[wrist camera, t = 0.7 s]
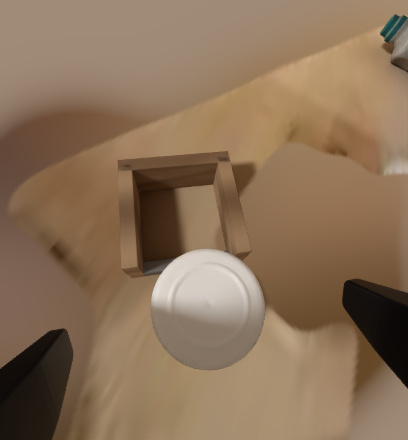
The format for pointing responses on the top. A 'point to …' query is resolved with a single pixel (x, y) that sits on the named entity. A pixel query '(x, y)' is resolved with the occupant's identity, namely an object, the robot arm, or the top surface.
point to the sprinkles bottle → (207, 309)
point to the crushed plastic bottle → (398, 39)
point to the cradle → (176, 178)
